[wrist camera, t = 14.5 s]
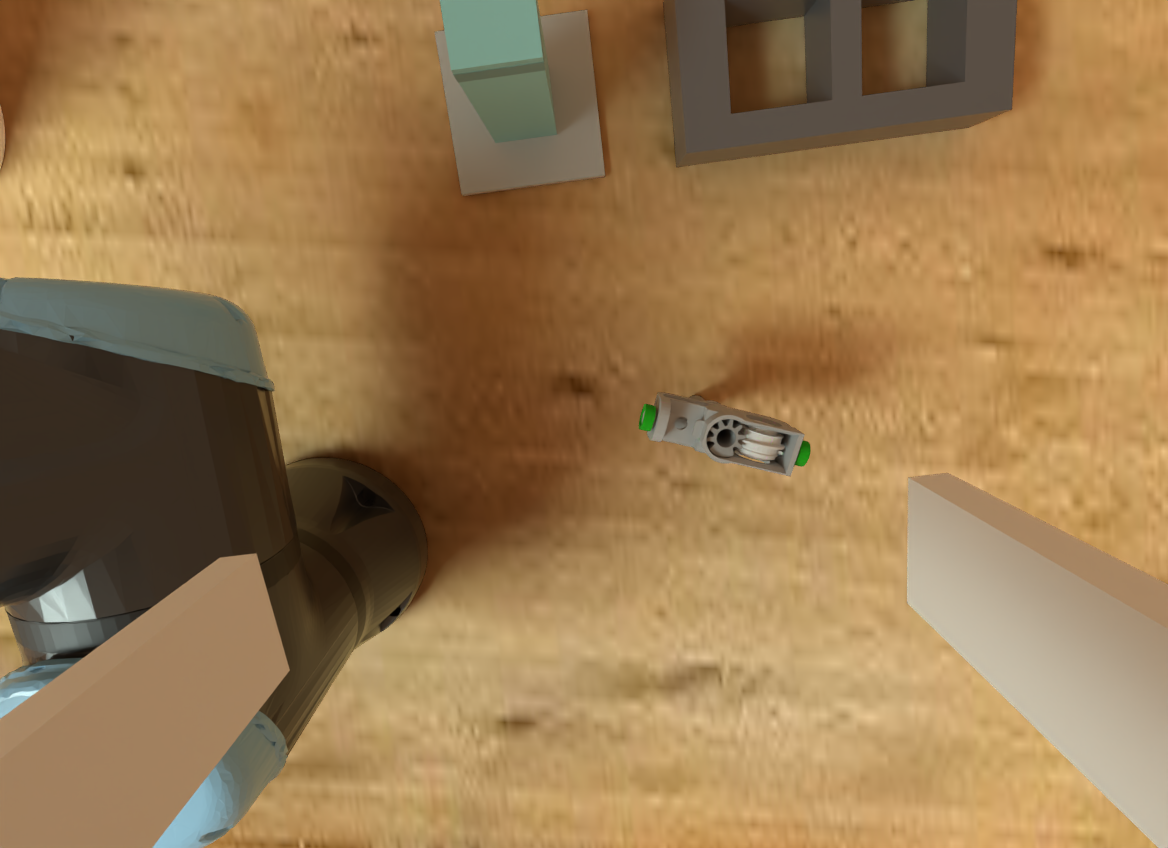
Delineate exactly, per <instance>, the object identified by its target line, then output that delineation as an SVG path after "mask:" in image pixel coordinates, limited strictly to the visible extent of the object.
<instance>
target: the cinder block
mask: <svg viewBox="0 0 1168 848" xmlns="http://www.w3.org/2000/svg"><path fill="white" fill-rule="evenodd" d="M906 1H913V0H664V2H663V8H664V20H665V32H666V45H667V57H668V70H669V82H670V94H671V107H672V119H673V132H674V144H675V156H676V167H681V166H689V165H696V164H703V163H711V162H718V161H726V160H733V159H740V158H748V157H755V156H762V155H770V154H777V153H785V152H792V151H799V150H807V149H814V148H822V147H829V146H836V145H844V144H851V143H858V142H866V141H873V140H881V139H888V138H895V137H903V136H910V135H918V134H925V133H932V132H940V131H947V130H955V129H962V128H969V127H971V126H974V125H976V124H978V123H981V122H983V121H985V120H988V119H990V118H992V117H995V116H997V115H1000V114H1002V113H1004V112H1007V111H1009V110H1011V109H1012V97H1013V76H1014V55H1015V34H1016V13H1017V0H928V8H927V73H926V87H923V88H915V89H908V90H901V91H894V92H886V93H879V94H872V95H865V96H862V30H861V8H864V7H871V6H878V5H885V4H892V3H899V2H906ZM801 16H804V27H805V61H806V94H807V104H799V105H792V106H785V107H778V108H770V109H763V110H756V111H749V112H741V113H734V114H731V105H730V88H729V71H728V54H727V37H726V27H731V26H738V25H745V24H752V23H759V22H766V21H773V20H780V19H787V18H794V17H801Z"/></svg>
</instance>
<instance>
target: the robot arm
mask: <svg viewBox="0 0 1168 848" xmlns="http://www.w3.org/2000/svg"><path fill="white" fill-rule="evenodd" d="M272 391H275V388H274V384H273V382H272V381H271V380H270V379H268V376H267V372H266V368H265V365H264V361H263V357H262V353H261V349H260V345H259V341H258V337H257V333H256V330H255V327H254V324H253V323H252V321H251V319H250V318H249V316H248V315H247V314H246V313H245V312H244V311H243V310H242V309H241V308H240V307H238V306H237V305H235V304H234V303H232V302H230V301H228V300H226V299H223V298H221V297H217V296H214V295H209V294H204V293H198V292H191V291H184V290H176V289H167V288H158V287H148V286H138V285H128V284H116V283H104V282H90V281H76V280H60V279H43V278H18V277H15V278H11V279H5V278H0V607H2V606H4V607H5V610H6V612H7V614H8V617H9V620H10V623H11V626H12V629H13V632H14V635H15V638H16V642H17V645H18V648H19V650H20V653H21V657H22V662H23V665H22V667H20V668H18V669H17V670H15V671H12V672H9V673H8V674H6V675H5V676H4V677H2V678H1V679H0V848H203V847H205V846H207V845H209V844H210V843H212V842H214V841H215V840H217V839H219V838H220V837H222V836H223V835H225V834H226V833H227V832H228V831H229V830H230V829H231V828H233V827H234V826H235V825H236V824H237V823H238V822H239V821H240V820H241V819H242V818H243V816H244V815H245V814H246V813H247V811H248V810H249V809H250V807H251V806H252V804H253V803H254V802H255V800H256V799H257V798H258V796H259V795H260V793H261V792H262V791H263V789H264V788H265V787H266V785H267V784H268V783H269V782H270V781H271V780H273V779H274V778H275V777H277V776H278V774H279V773H280V772H281V770H282V769H283V767H284V765H285V763H286V758H287V757H288V754H289V753H290V751H291V749H292V748H293V746H294V745H295V743H296V741H297V740H298V738H299V736H300V735H301V733H302V732H303V730H304V728H305V727H306V725H307V724H308V722H309V720H310V719H311V717H312V716H313V714H314V712H315V711H316V709H317V708H318V706H319V704H320V703H321V701H322V699H323V698H324V696H325V695H326V693H327V691H328V690H329V688H330V687H331V685H332V683H333V682H334V680H335V679H336V677H337V675H338V674H339V672H340V671H341V669H342V668H343V666H344V664H345V663H346V661H347V660H348V658H349V657H350V655H351V653H352V652H353V650H354V649H356V648H357V647H359V646H360V645H362V644H363V643H365V642H366V641H368V640H370V639H371V638H373V637H374V636H376V635H377V634H379V633H380V632H382V631H383V630H385V629H386V628H387V627H389V626H390V625H391V624H393V623H394V622H395V621H396V620H397V619H398V618H399V617H400V616H401V615H402V613H403V612H404V611H405V610H406V608H407V607H408V606H409V604H410V603H411V601H412V599H413V597H414V595H415V594H416V592H417V590H418V588H419V586H420V584H421V582H422V580H423V577H424V574H425V570H426V565H427V556H428V549H427V540H426V535H425V531H424V527H423V524H422V522H421V519H420V517H419V515H418V513H417V511H416V509H415V508H414V506H413V505H412V503H411V502H410V500H409V499H408V498H407V497H406V495H405V494H404V493H403V492H402V491H401V490H400V489H399V488H398V487H397V486H396V485H395V484H394V483H392V482H391V481H390V480H389V479H387V478H386V477H384V476H383V475H381V474H380V473H378V472H376V471H375V470H373V469H371V468H369V467H366V466H364V465H361V464H358V463H356V462H352V461H348V460H343V459H337V458H311V459H305V460H301V461H297V462H294V463H291V464H289V465H286V466H285V462H284V456H283V451H282V445H281V440H280V434H279V429H278V423H277V418H276V412H275V407H274V401H273V396H272ZM907 603H908V604H909V605H910V606H911V607H912V608H913V609H914V610H915V611H916V612H917V613H918V614H919V615H920V616H921V617H922V618H923V619H924V620H925V621H926V622H927V623H928V624H929V625H930V626H931V627H932V628H933V629H934V630H935V631H937V632H938V633H939V634H940V635H941V636H942V637H943V638H944V639H945V640H946V641H947V642H948V643H949V644H950V645H951V646H952V647H953V648H954V649H955V650H956V651H957V652H958V653H959V654H960V655H961V656H962V657H963V658H964V659H965V660H966V661H967V662H968V663H969V664H970V665H971V666H972V667H973V668H974V669H976V670H977V671H978V672H979V673H980V674H981V675H982V676H983V677H984V678H985V679H986V680H987V681H988V682H989V683H990V684H991V685H992V686H993V687H994V688H995V689H996V690H997V691H998V692H999V693H1000V694H1001V695H1002V696H1003V697H1004V698H1005V699H1006V700H1007V701H1008V702H1009V703H1010V704H1011V705H1012V706H1013V707H1015V708H1016V709H1017V710H1018V711H1019V712H1020V713H1021V714H1022V715H1023V716H1024V717H1025V718H1026V719H1027V720H1028V721H1029V722H1030V723H1031V724H1032V725H1033V726H1034V727H1035V728H1036V729H1037V730H1038V731H1039V732H1040V733H1041V734H1042V735H1043V736H1044V737H1045V738H1046V739H1047V740H1048V741H1049V742H1050V743H1051V744H1052V745H1053V746H1055V747H1056V748H1057V749H1058V750H1059V751H1060V752H1061V753H1062V754H1063V755H1064V756H1065V757H1066V758H1067V759H1068V760H1069V761H1070V762H1071V763H1072V764H1073V765H1074V766H1075V767H1076V768H1077V769H1078V770H1079V771H1080V772H1081V773H1082V774H1083V775H1084V776H1085V777H1086V778H1087V779H1088V780H1089V781H1090V782H1091V783H1092V784H1094V785H1095V786H1096V787H1097V788H1098V789H1099V790H1100V791H1101V792H1102V793H1103V794H1104V795H1105V796H1106V797H1107V798H1108V799H1109V800H1110V801H1111V802H1112V803H1113V804H1114V805H1115V806H1116V807H1117V808H1118V809H1119V810H1120V811H1121V812H1122V813H1123V814H1124V815H1125V816H1126V817H1127V818H1128V819H1129V820H1130V821H1131V822H1133V823H1134V824H1135V825H1136V826H1137V827H1138V828H1139V829H1140V830H1141V831H1142V832H1143V833H1144V834H1145V835H1146V836H1147V837H1148V838H1149V839H1150V840H1151V841H1152V842H1153V843H1154V844H1155V845H1156V846H1157V847H1158V848H1168V584H1166V583H1164V582H1162V581H1160V580H1158V579H1156V578H1154V577H1152V576H1150V575H1148V574H1146V573H1144V572H1142V571H1141V570H1139V569H1137V568H1135V567H1133V566H1131V565H1129V564H1127V563H1125V562H1123V561H1121V560H1119V559H1117V558H1115V557H1113V556H1111V555H1109V554H1107V553H1105V552H1103V551H1101V550H1099V549H1097V548H1095V547H1093V546H1091V545H1089V544H1087V543H1085V542H1083V541H1081V540H1079V539H1077V538H1075V537H1073V536H1071V535H1069V534H1067V533H1066V532H1064V531H1062V530H1060V529H1058V528H1056V527H1054V526H1052V525H1050V524H1048V523H1046V522H1044V521H1042V520H1040V519H1038V518H1036V517H1034V516H1032V515H1030V514H1028V513H1026V512H1024V511H1022V510H1020V509H1018V508H1016V507H1014V506H1012V505H1010V504H1008V503H1006V502H1004V501H1002V500H1000V499H998V498H996V497H994V496H992V495H990V494H989V493H987V492H985V491H983V490H981V489H979V488H977V487H975V486H973V485H971V484H969V483H967V482H965V481H963V480H961V479H959V478H957V477H955V476H953V475H951V474H949V473H942V474H934V475H925V476H917V477H908V553H907Z"/></svg>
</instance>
